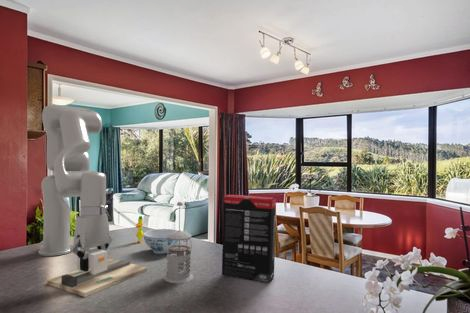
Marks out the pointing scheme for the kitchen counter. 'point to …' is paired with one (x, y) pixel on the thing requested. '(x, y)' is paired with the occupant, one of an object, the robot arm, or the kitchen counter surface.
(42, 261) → the kitchen counter surface
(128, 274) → the din panel
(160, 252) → the chinaware
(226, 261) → the graphics card box
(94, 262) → the block
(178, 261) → the french press
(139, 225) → the toy figure
